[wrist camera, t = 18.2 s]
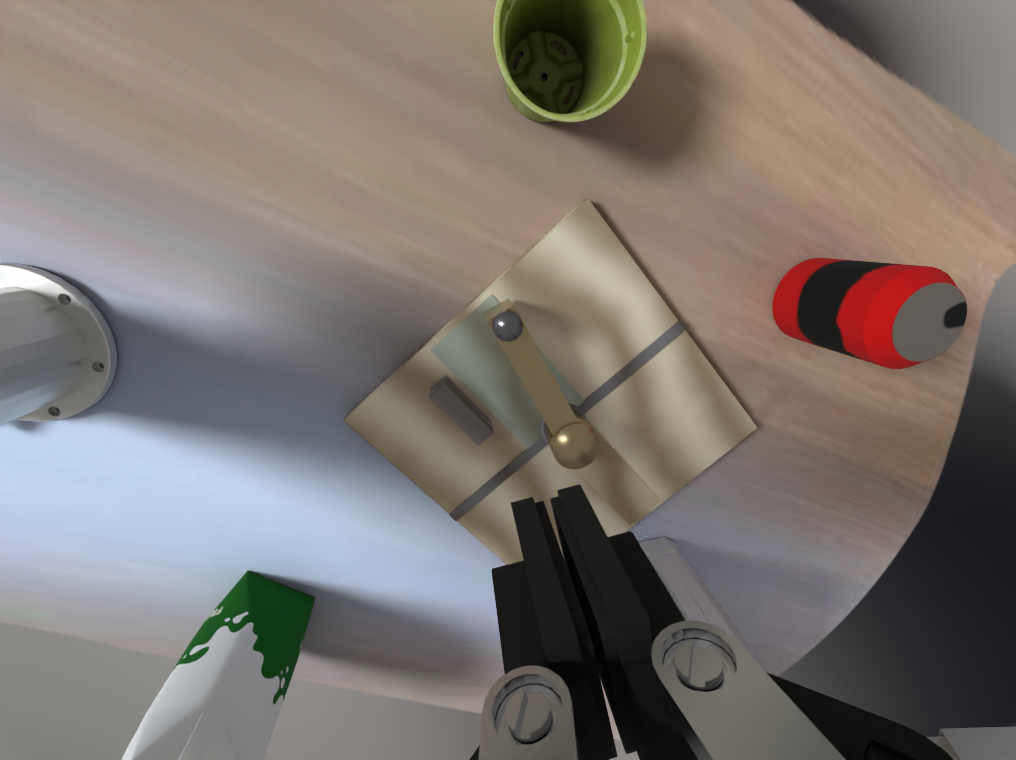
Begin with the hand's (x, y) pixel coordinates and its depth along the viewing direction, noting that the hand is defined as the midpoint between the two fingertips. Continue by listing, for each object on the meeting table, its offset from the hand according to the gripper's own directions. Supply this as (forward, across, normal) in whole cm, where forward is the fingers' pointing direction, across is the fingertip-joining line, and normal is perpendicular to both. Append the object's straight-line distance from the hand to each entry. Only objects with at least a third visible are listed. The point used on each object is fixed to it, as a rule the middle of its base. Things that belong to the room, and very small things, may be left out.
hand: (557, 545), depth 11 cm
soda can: (+32, -31, +6) cm, 45 cm away
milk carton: (+32, +28, +24) cm, 49 cm away
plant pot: (+32, -9, -16) cm, 37 cm away
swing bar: (+30, -4, +7) cm, 31 cm away
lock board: (+32, -5, +12) cm, 35 cm away
